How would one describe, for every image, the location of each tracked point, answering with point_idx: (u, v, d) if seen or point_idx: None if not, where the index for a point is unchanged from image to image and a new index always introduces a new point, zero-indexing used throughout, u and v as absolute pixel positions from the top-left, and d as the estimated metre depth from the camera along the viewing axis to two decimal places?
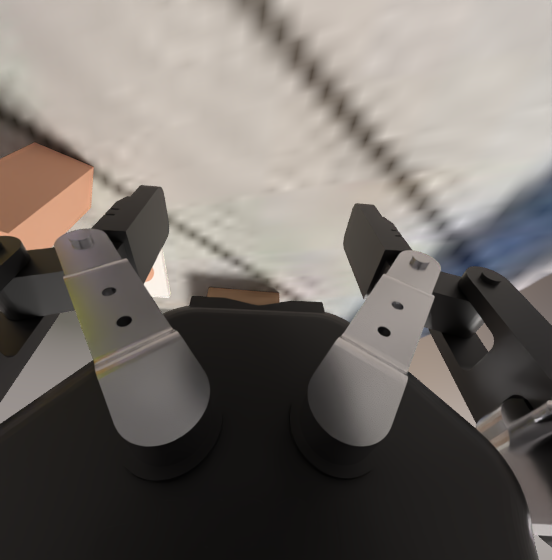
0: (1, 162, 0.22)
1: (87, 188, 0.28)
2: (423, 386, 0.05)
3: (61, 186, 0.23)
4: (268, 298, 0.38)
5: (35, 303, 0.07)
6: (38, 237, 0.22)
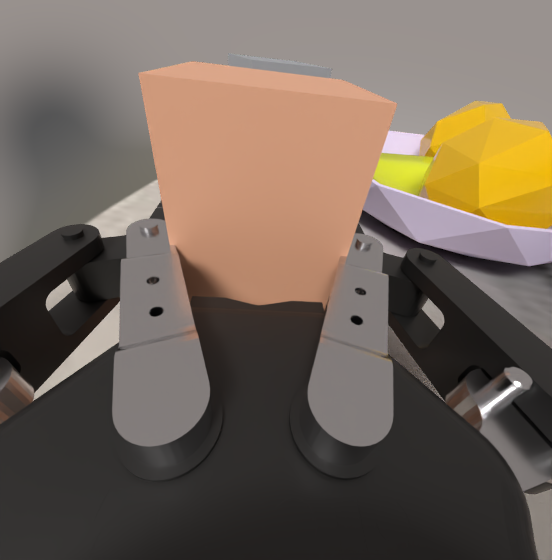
0: None
1: None
2: (423, 386, 0.05)
3: None
4: None
5: (107, 286, 0.08)
6: (259, 225, 0.07)
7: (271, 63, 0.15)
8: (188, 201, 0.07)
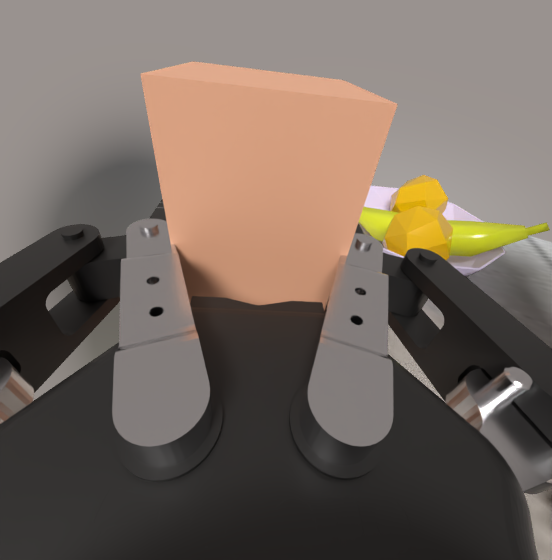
0: None
1: None
2: (423, 386, 0.05)
3: None
4: None
5: (107, 286, 0.08)
6: (260, 224, 0.07)
7: None
8: (189, 201, 0.07)
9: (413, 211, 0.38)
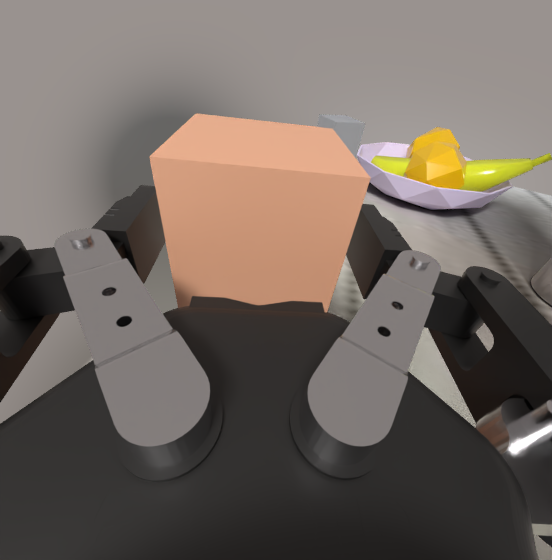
0: None
1: None
2: (423, 386, 0.05)
3: None
4: None
5: (35, 303, 0.07)
6: (253, 269, 0.08)
7: (343, 122, 0.39)
8: (191, 251, 0.08)
9: (431, 145, 0.43)
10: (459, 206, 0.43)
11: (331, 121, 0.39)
